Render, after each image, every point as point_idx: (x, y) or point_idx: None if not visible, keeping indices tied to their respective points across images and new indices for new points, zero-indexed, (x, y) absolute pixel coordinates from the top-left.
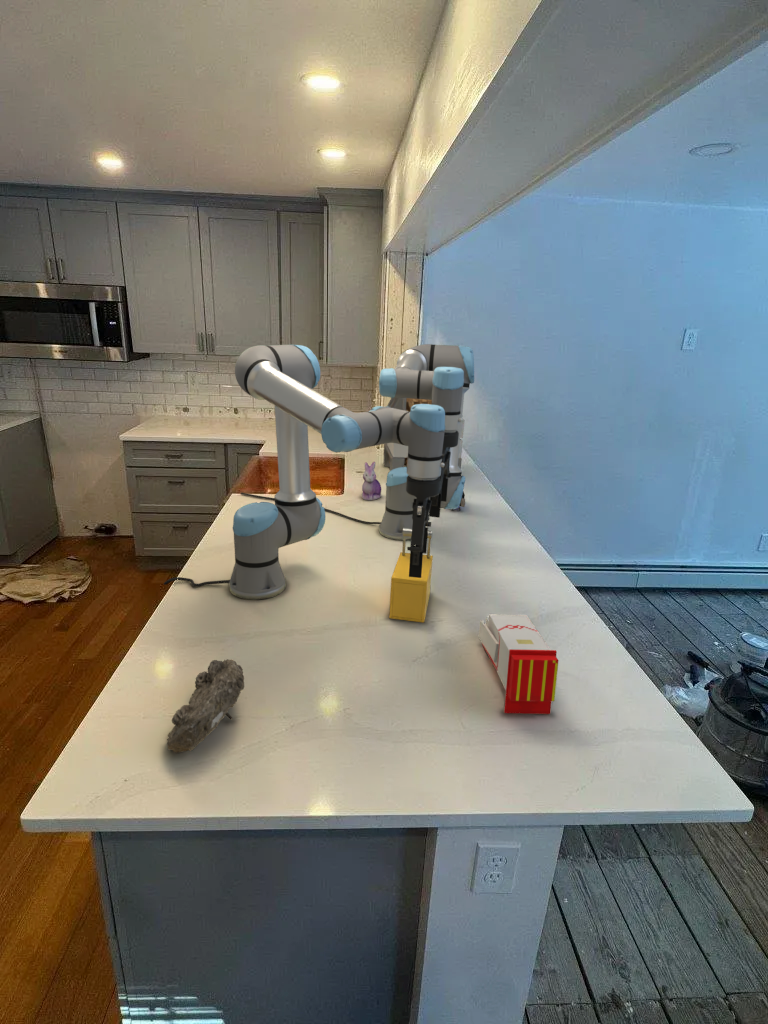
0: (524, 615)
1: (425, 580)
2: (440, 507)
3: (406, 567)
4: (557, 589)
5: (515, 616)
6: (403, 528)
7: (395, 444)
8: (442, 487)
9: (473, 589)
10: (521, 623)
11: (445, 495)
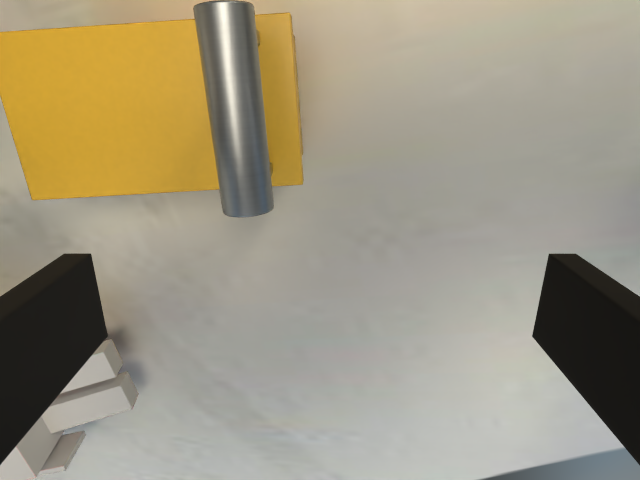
0: (29, 474)
1: (37, 192)
2: (59, 393)
3: (121, 84)
4: (434, 468)
5: (8, 456)
6: (210, 4)
7: None
8: (633, 391)
9: (376, 278)
10: None
11: (567, 364)
